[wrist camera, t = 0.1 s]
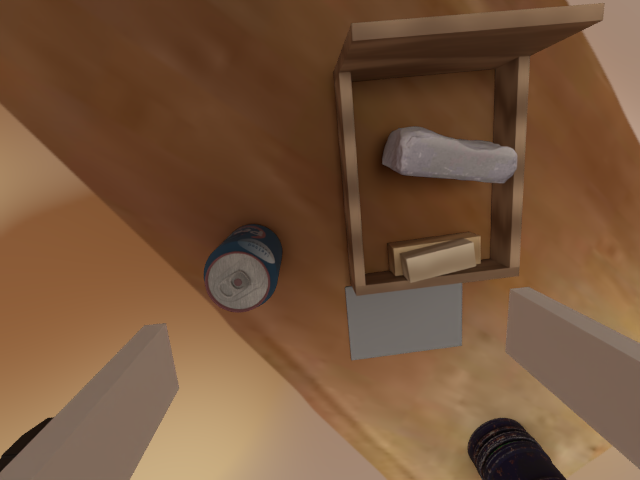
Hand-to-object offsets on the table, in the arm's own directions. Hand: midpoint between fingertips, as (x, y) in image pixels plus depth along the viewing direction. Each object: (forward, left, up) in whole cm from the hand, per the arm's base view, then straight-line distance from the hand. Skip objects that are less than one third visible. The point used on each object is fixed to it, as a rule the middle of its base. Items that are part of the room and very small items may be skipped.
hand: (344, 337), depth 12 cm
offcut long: (+6, +15, -28) cm, 32 cm away
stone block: (-6, +15, -28) cm, 32 cm away
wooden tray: (-4, +15, -28) cm, 32 cm away
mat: (+15, +12, -28) cm, 34 cm away
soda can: (+3, -7, -28) cm, 29 cm away
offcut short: (+6, +14, -25) cm, 30 cm away
